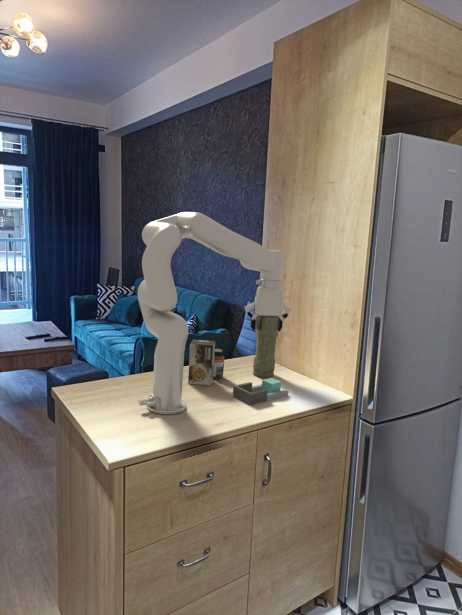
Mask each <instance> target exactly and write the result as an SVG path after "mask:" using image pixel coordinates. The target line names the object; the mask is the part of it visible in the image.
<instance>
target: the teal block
mask: <svg viewBox="0 0 462 615" xmlns="http://www.w3.org/2000/svg"><path fill="white" fill-rule="evenodd" d="M261 384H262V388H261V390H264V389H266V390H268V394H269V393H273V392H277V391H281V389H282V388H281V386H282V381H281V380H277V379H276V378H273V377H271V378H263V379H262V380H261Z"/></svg>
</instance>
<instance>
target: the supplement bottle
mask: <svg viewBox="0 0 462 615" xmlns="http://www.w3.org/2000/svg"><path fill="white" fill-rule="evenodd" d="M224 368H225V355H223V349H222V348H221V349H220V348H215V355H214V370H213V380H221V379H222V378H224Z"/></svg>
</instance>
